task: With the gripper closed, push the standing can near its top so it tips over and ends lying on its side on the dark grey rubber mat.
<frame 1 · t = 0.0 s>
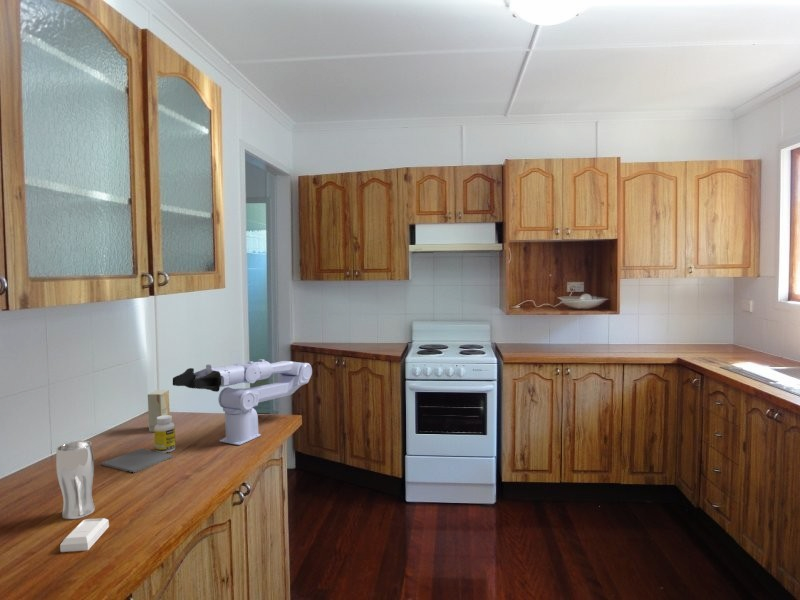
hand: (183, 382, 143), 22 cm above the worktop, tool horizontal, fingers open, 7 cm apart
beer glass: (78, 513, 117), on the worktop
skincare box: (160, 429, 173), on the worktop
supplement bottle: (165, 450, 154), on the worktop
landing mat: (137, 461, 146), on the worktop
soap bar: (86, 541, 106), on the worktop
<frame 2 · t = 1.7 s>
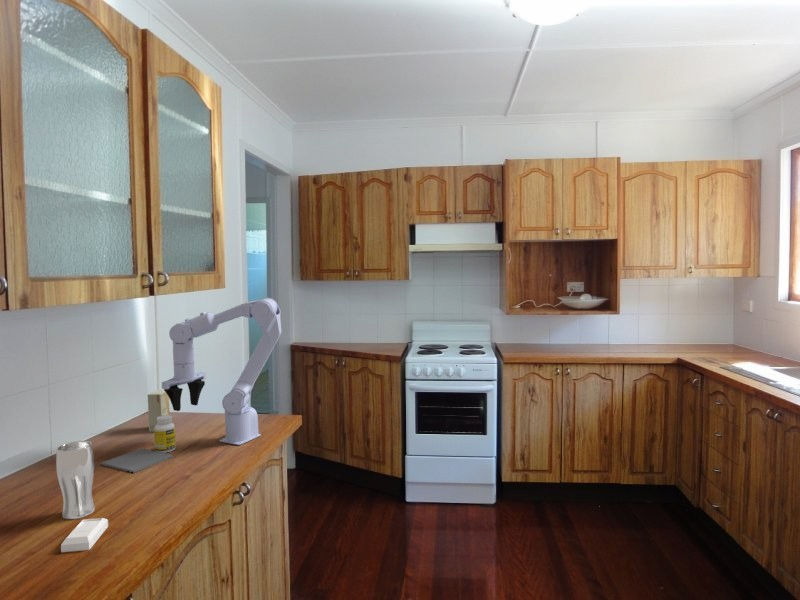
hand: (185, 407, 160), 10 cm above the worktop, tool pointing down, fingers open, 6 cm apart
nothing on the worktop moved.
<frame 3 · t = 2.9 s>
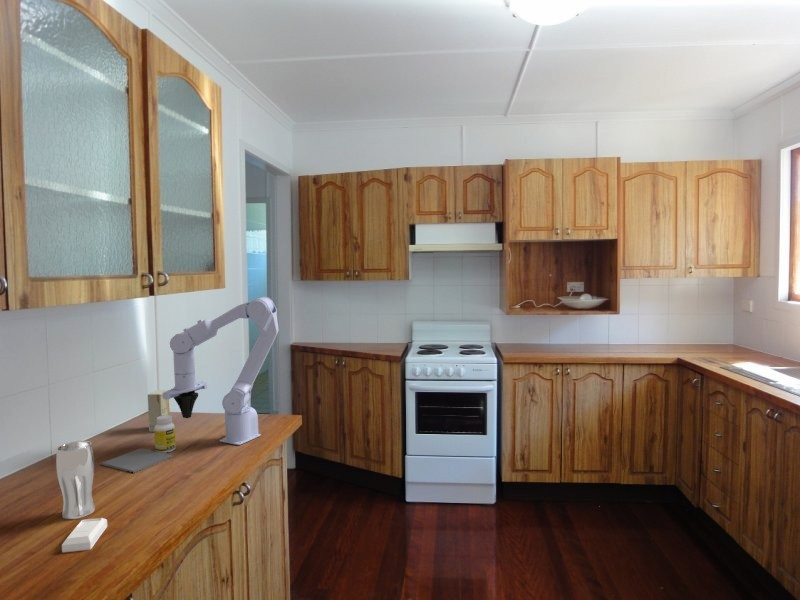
hand: (187, 417, 160), 7 cm above the worktop, tool pointing down, fingers closed
nothing on the worktop moved.
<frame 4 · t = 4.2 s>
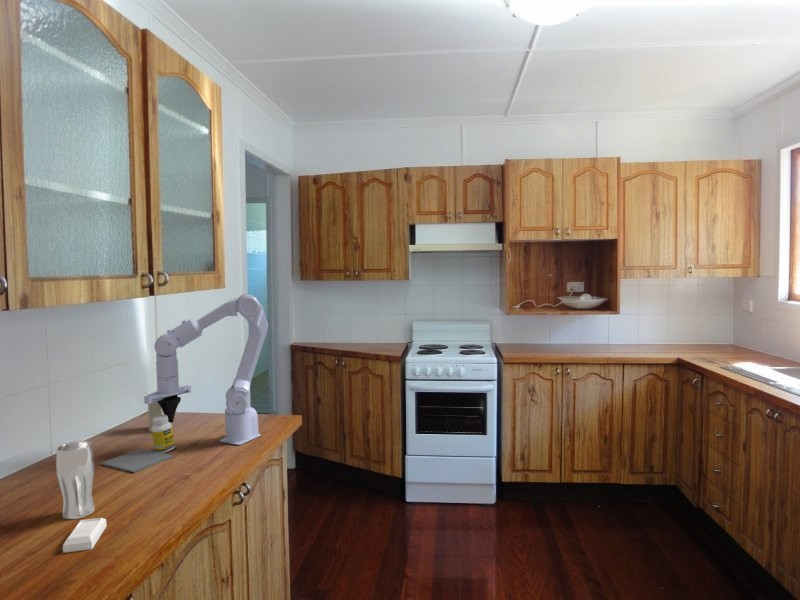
hand: (169, 422, 155), 8 cm above the worktop, tool pointing down, fingers closed
supplement bottle: (165, 449, 154), on the worktop, touching gripper
everything else where it was.
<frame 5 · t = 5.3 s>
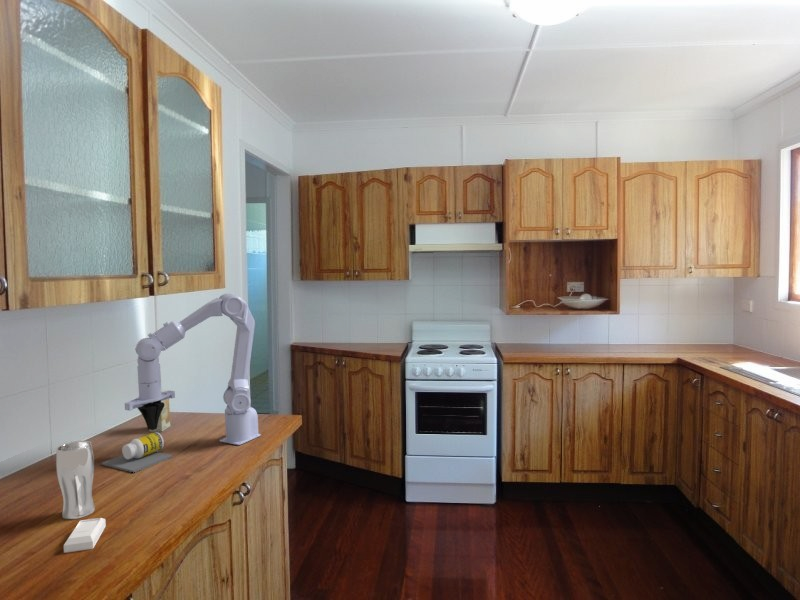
hand: (152, 429, 150), 7 cm above the worktop, tool pointing down, fingers closed
supplement bottle: (158, 440, 152), point 3 cm above the worktop, touching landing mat
everything else where it was.
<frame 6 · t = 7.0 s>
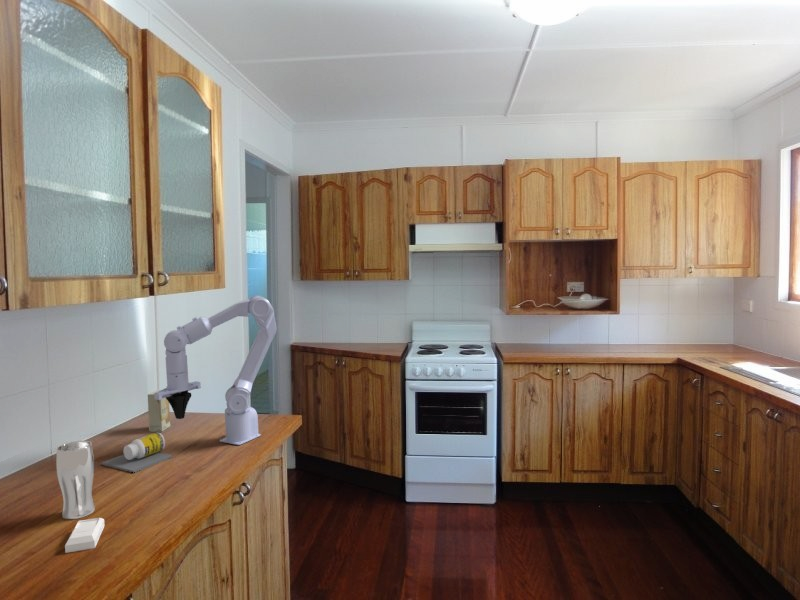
hand: (180, 418, 155), 9 cm above the worktop, tool pointing down, fingers closed
nothing on the worktop moved.
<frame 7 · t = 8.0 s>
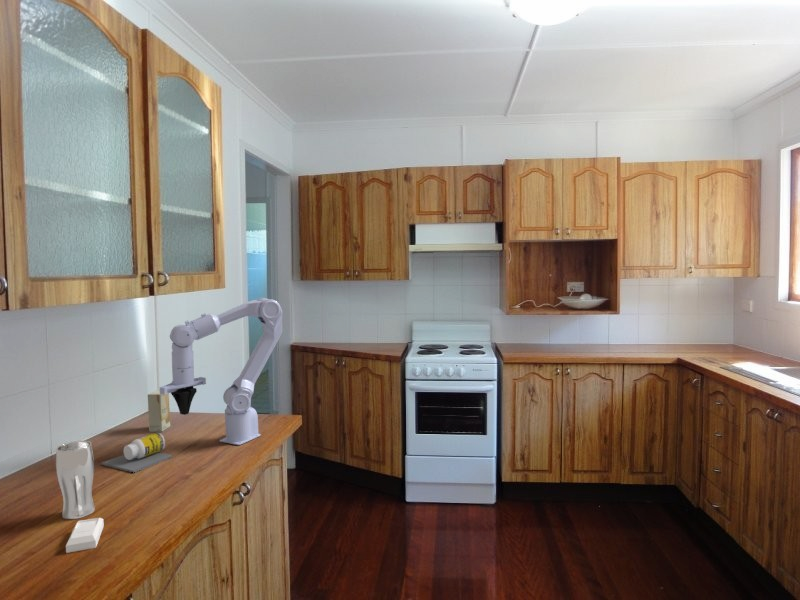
hand: (184, 413, 154), 10 cm above the worktop, tool pointing down, fingers closed
nothing on the worktop moved.
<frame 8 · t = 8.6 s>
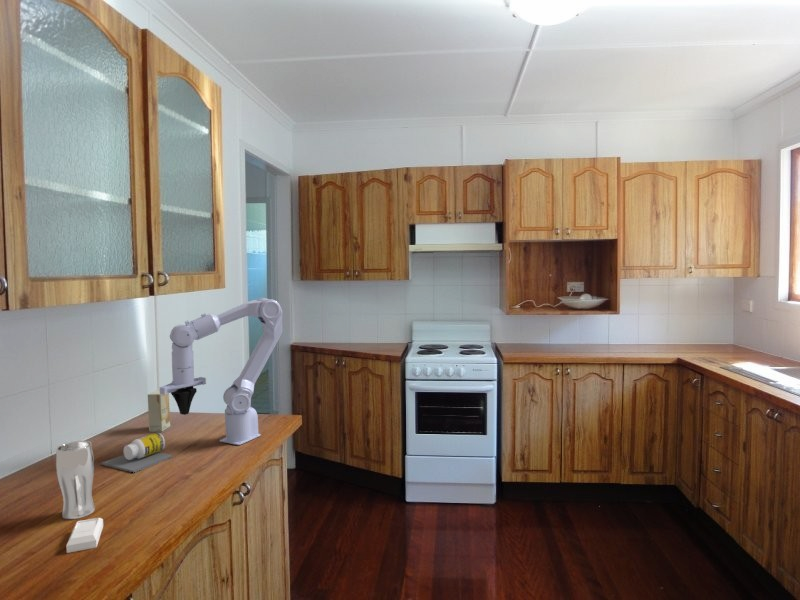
hand: (184, 413, 154), 10 cm above the worktop, tool pointing down, fingers closed
at the end: supplement bottle tilted 91°; supplement bottle touching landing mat; the gripper is holding nothing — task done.
